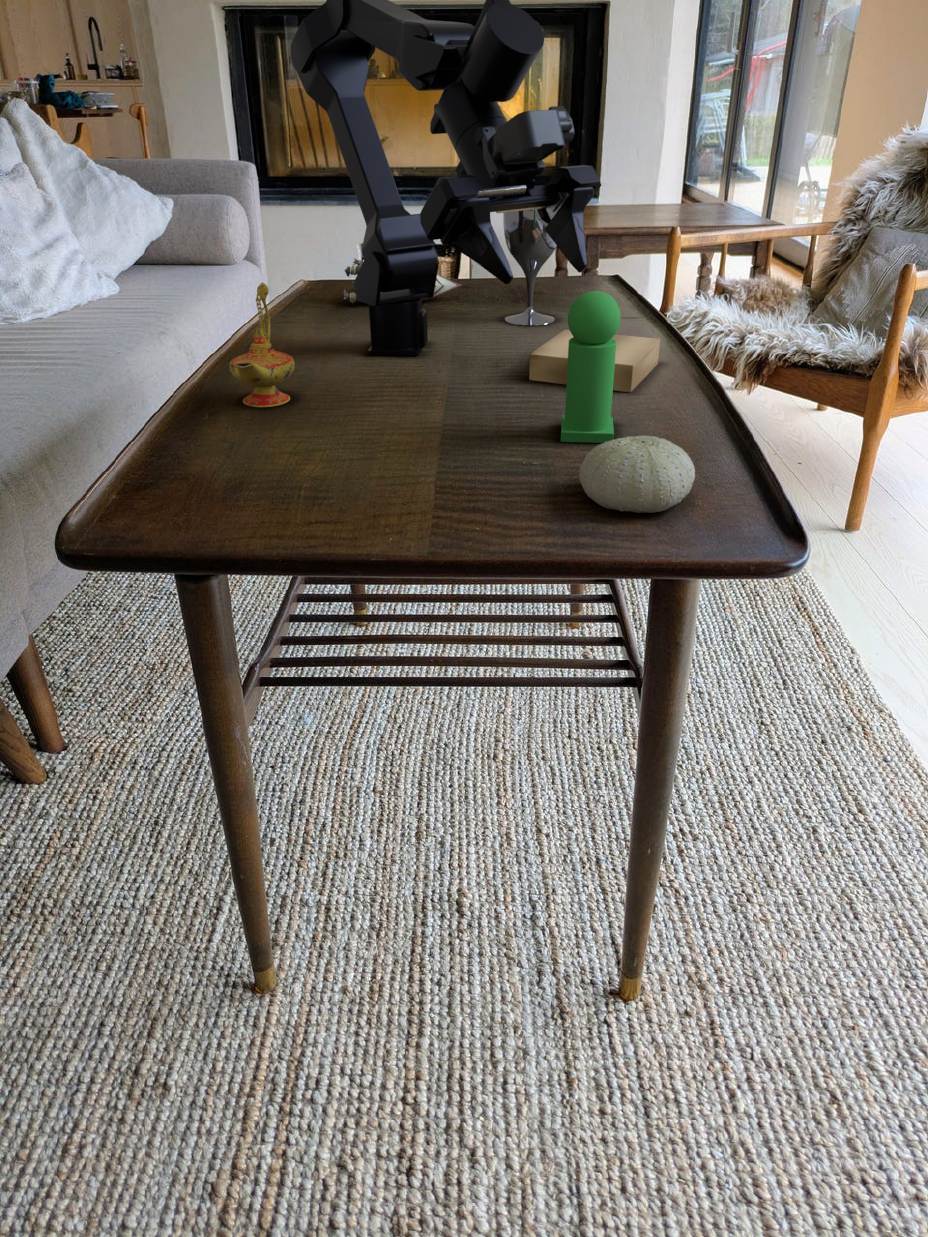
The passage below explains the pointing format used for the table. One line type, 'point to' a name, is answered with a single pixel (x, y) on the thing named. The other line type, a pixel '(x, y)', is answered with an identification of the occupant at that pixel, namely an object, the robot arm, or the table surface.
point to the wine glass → (528, 257)
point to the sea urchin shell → (637, 474)
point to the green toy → (590, 369)
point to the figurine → (440, 288)
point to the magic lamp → (263, 364)
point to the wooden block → (630, 360)
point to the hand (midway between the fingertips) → (547, 275)
